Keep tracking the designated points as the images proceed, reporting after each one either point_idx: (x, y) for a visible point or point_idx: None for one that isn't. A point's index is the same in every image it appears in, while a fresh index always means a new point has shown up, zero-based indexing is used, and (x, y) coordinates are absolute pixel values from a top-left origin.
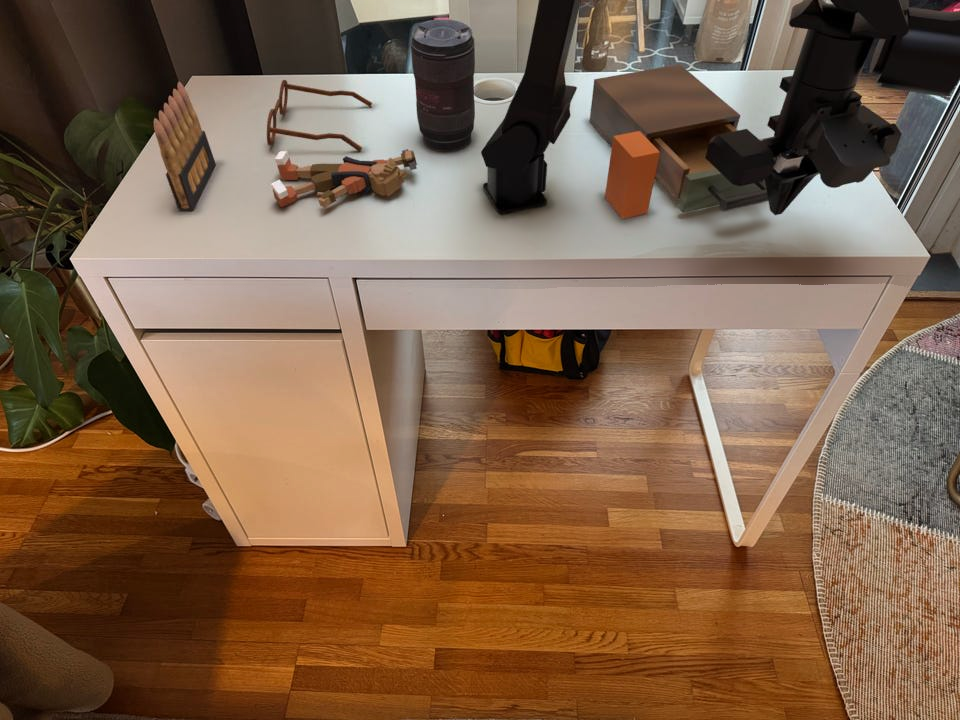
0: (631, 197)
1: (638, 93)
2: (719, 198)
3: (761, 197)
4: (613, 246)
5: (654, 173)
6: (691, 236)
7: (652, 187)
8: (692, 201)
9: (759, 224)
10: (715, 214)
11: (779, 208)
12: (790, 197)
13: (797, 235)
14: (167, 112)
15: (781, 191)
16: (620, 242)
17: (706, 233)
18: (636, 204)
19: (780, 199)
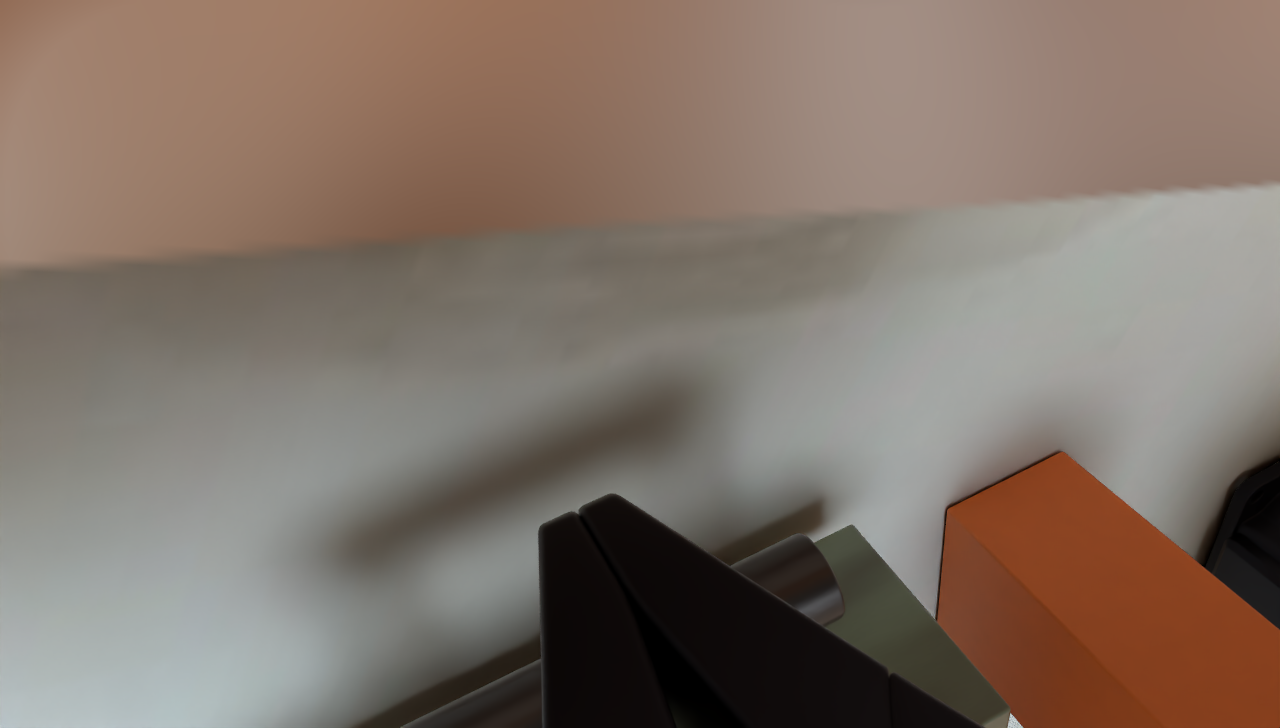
0: (1136, 544)
1: None
2: None
3: (539, 716)
4: (1207, 253)
5: (1148, 697)
6: (845, 369)
7: (1066, 624)
8: (850, 597)
9: (385, 543)
10: None
11: (662, 549)
12: (659, 702)
13: (88, 482)
14: None
15: (969, 725)
16: (1165, 285)
17: (754, 406)
18: (1063, 524)
19: (812, 629)
